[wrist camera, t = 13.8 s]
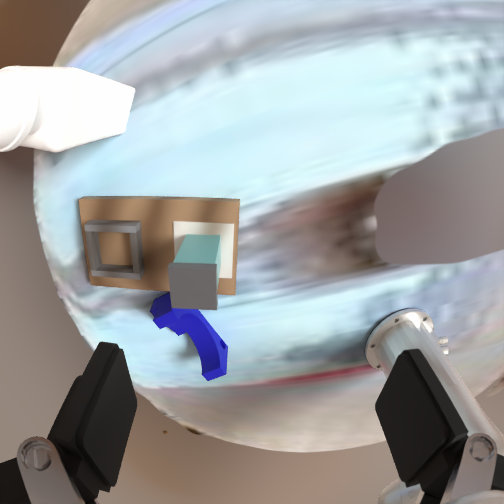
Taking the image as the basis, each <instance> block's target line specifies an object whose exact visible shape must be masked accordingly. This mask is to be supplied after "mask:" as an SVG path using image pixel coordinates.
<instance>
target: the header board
mask: <svg viewBox="0 0 504 504" xmlns="http://www.w3.org/2000/svg"><path fill="white" fill-rule="evenodd" d="M239 206H240V199H226V198H200V197H159V196H87V197H82V198H81V199H79V208H80V217H81V226H82V234H83V241H84V248H85V254H86V261H87V267H88V272H89V278H90V283H91V285H96V286H106V287H118V288H130V289H142V290H156V291H170V287H169V277H168V265H169V263H173V262H174V259H175V257H176V255H177V253H178V251H179V249H180V247H181V244H182V242H183V240H184V238H185V236H186V234H197V235H221V268H220V275H219V282H218V289H217V294H221V295H235V290H236V267H237V246H238V225H239Z"/></svg>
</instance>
